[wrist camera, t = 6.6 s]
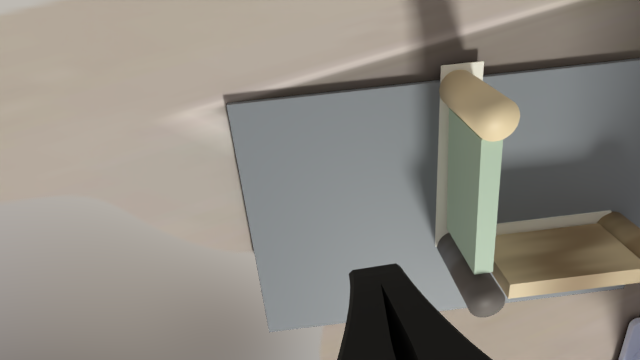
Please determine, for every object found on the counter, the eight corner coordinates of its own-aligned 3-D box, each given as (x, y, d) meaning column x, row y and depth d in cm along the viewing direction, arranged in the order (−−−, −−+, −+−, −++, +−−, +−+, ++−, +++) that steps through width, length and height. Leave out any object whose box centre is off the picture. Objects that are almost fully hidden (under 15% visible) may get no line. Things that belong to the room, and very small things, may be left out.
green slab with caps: (470, 223, 23) (505, 275, 19) (438, 228, 23) (467, 280, 19) (477, 67, 19) (522, 94, 16) (439, 72, 19) (475, 101, 16)
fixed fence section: (627, 209, 23) (697, 262, 19) (620, 235, 24) (686, 292, 20) (437, 232, 23) (469, 290, 19) (436, 257, 24) (467, 319, 20)
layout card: (687, 37, 20) (695, 38, 19) (620, 284, 26) (625, 289, 26) (224, 86, 19) (223, 89, 19) (269, 328, 26) (269, 333, 25)
